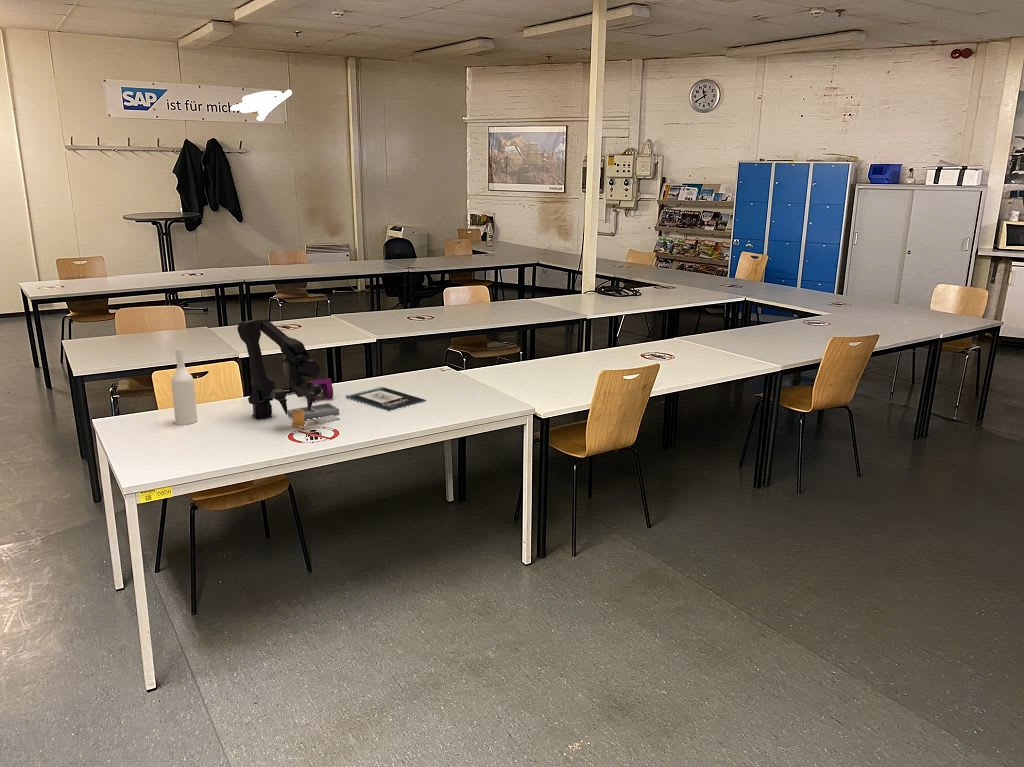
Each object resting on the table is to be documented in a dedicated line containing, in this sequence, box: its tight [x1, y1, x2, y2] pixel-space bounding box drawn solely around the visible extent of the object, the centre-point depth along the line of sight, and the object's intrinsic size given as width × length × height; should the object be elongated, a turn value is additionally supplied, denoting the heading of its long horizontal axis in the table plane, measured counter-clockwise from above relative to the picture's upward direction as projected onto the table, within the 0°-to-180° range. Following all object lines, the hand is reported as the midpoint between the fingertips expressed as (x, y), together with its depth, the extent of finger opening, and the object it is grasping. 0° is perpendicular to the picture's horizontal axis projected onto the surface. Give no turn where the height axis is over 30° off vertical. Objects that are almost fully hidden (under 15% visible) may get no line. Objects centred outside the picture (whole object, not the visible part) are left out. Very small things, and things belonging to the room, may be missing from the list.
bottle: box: [170, 347, 198, 426], centre depth 300 cm, size 8×8×30 cm
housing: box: [287, 402, 340, 421], centre depth 314 cm, size 18×10×2 cm, turn 127°
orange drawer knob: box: [291, 408, 307, 428], centre depth 301 cm, size 5×5×6 cm
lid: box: [311, 415, 341, 425], centre depth 309 cm, size 9×6×1 cm, turn 135°
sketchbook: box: [345, 386, 427, 412], centre depth 338 cm, size 22×30×2 cm
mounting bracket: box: [307, 377, 334, 402], centre depth 341 cm, size 9×8×18 cm
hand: (297, 412), depth 301 cm, fingers open, 9 cm apart
